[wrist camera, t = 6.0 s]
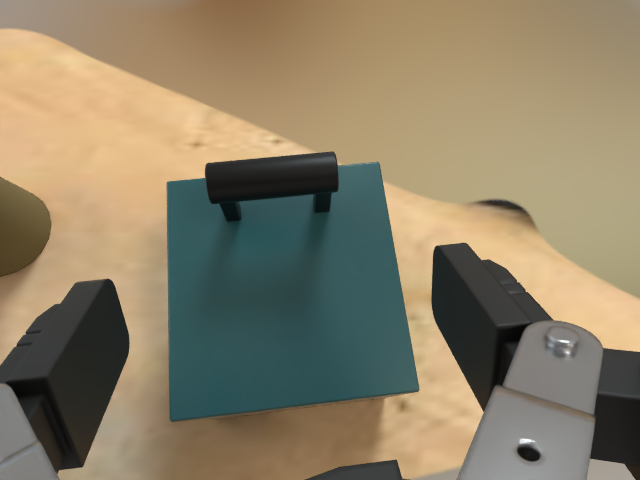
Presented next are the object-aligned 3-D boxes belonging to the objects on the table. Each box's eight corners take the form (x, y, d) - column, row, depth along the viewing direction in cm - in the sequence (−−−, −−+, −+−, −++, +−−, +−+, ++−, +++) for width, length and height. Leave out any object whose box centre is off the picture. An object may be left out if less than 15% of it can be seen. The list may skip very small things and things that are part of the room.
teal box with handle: (170, 188, 23) (137, 134, 19) (377, 168, 24) (393, 111, 19) (174, 421, 20) (134, 424, 15) (416, 391, 20) (447, 386, 16)
